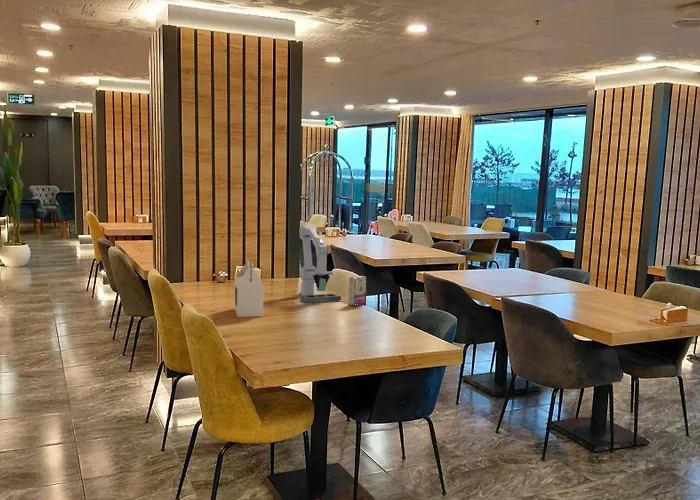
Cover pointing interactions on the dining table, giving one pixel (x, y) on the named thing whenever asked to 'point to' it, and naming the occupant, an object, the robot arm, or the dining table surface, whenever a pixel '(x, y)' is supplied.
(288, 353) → the dining table surface
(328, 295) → the rail
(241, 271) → the gable box
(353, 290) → the candy bar box
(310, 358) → the dining table surface
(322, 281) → the square peg
